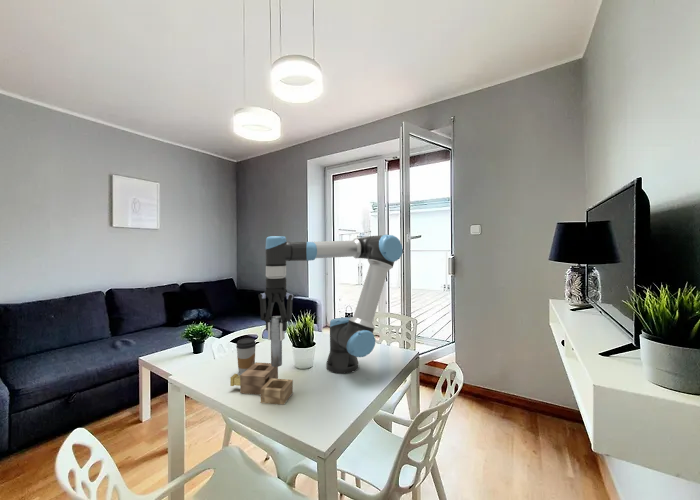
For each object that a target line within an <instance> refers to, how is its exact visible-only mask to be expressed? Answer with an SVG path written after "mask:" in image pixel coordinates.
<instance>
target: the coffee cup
mask: <svg viewBox="0 0 700 500" xmlns="http://www.w3.org/2000/svg"><path fill="white" fill-rule="evenodd" d="M256 343H257V342H256V339H255V338H251V337H250V338H249V337H247V338H242V339H239V340H237V343H236V354H237V357H236V359H237V368H238V375H241V374H243V373H244V372H245V371H246V370H247V369H249V368H250V367H251V366H252V365H253V364H255V363H256V362H255V361H256V345H257V344H256Z"/></svg>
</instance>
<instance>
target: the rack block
mask: <svg viewBox="0 0 700 500" xmlns="http://www.w3.org/2000/svg"><path fill="white" fill-rule="evenodd" d="M293 381H294V380H293V379H285V378H278V379H274V378H271V379H270V380H269V381H268V382H267V383H266V384H265V385H264V386H263V387H262V388H261V395H260V403H261V404H271V405H285V404H287V402H288V400H289V399H290V397H291V396H292V394H293V393H294V387H293V385H294V384H293V383H294V382H293Z"/></svg>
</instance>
